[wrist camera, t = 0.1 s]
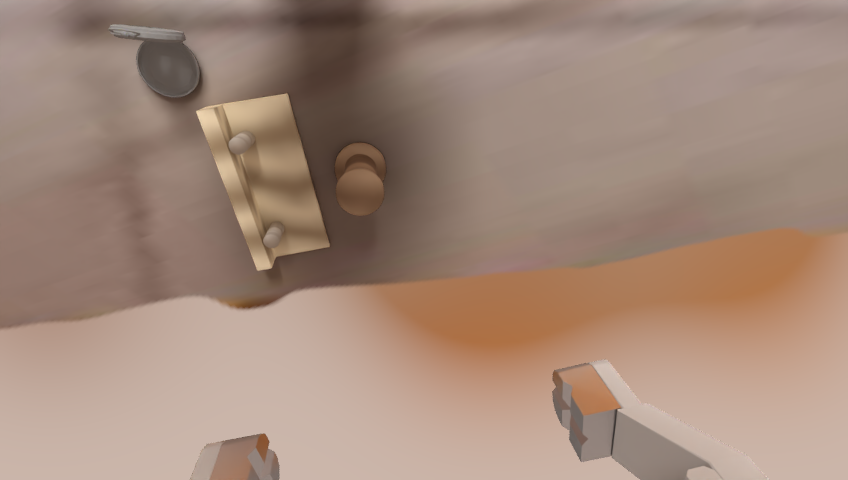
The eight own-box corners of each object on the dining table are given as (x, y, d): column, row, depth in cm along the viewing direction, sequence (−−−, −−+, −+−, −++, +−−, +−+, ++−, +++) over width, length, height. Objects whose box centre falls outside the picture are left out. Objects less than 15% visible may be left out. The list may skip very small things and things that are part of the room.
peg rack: (207, 106, 50) (192, 112, 46) (287, 93, 51) (280, 98, 47) (263, 257, 60) (255, 274, 56) (329, 245, 61) (327, 261, 57)
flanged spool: (329, 146, 55) (322, 169, 45) (380, 138, 55) (384, 159, 45) (341, 194, 58) (337, 225, 48) (389, 186, 58) (394, 215, 49)
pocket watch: (169, 106, 50) (127, 121, 41) (114, 39, 46) (55, 39, 37) (224, 72, 49) (193, 80, 40) (173, 1, 45) (126, -8, 36)
